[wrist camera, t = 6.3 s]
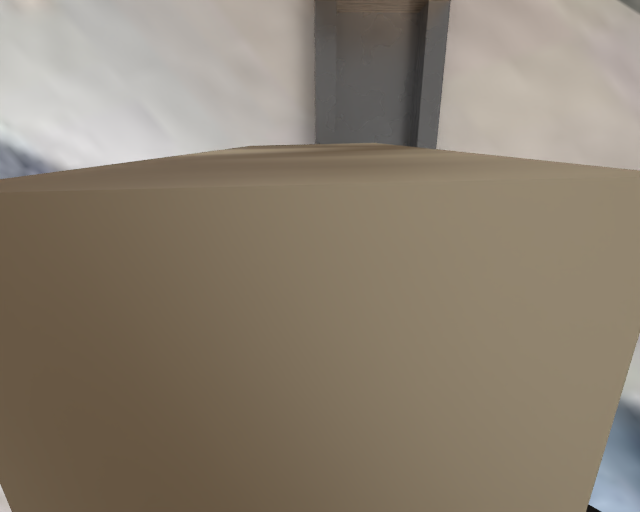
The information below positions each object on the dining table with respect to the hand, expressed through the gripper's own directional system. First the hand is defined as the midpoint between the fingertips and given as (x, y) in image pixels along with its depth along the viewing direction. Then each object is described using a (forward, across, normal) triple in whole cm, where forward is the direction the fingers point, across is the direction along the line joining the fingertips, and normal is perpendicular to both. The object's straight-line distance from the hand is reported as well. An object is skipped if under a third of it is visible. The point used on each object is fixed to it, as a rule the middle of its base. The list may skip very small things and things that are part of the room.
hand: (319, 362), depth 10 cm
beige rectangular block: (+2, 0, 0) cm, 2 cm away
